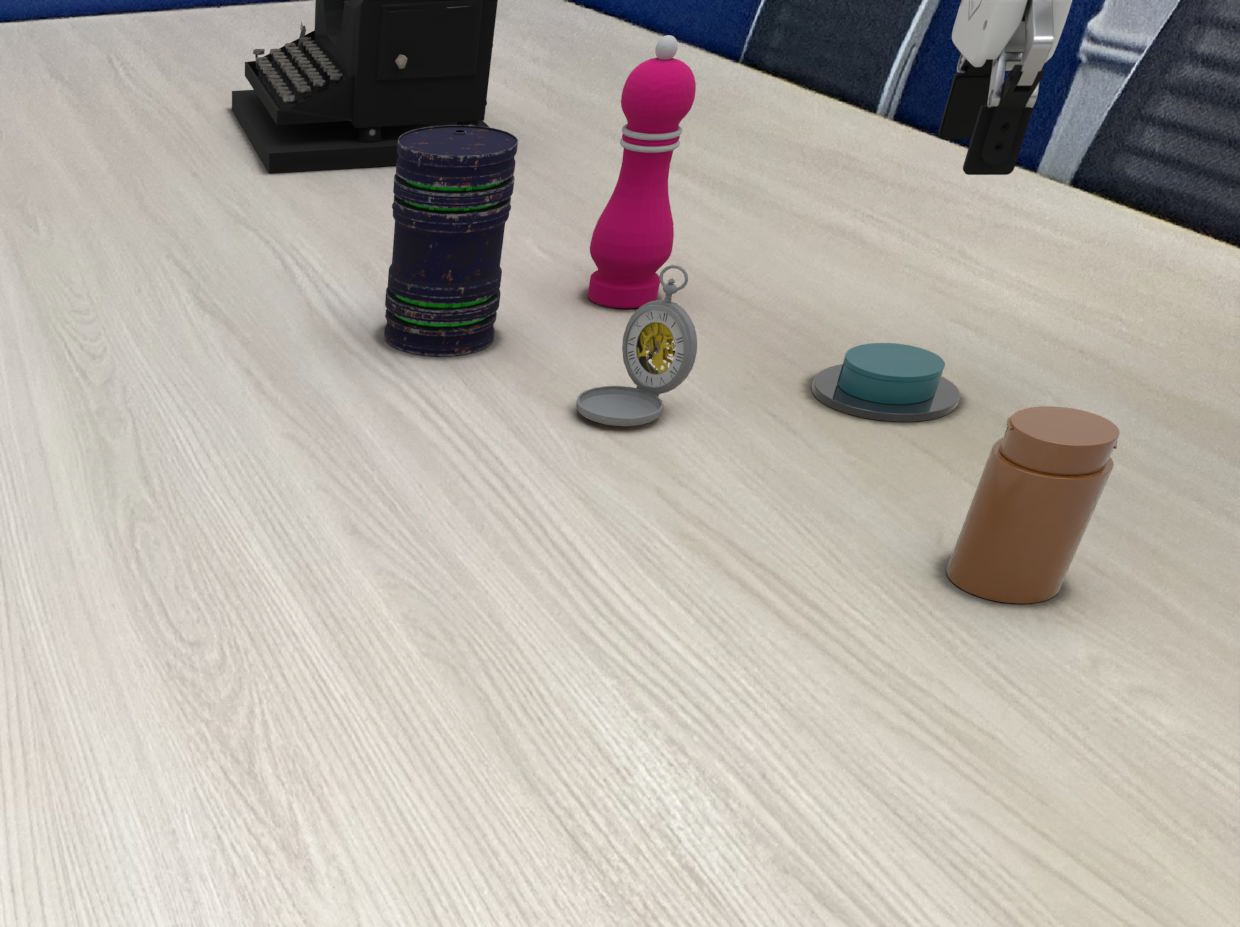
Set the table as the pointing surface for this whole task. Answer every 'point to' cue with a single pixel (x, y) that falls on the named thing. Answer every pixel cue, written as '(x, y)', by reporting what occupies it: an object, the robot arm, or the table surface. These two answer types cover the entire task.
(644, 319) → the pocket watch
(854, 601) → the table surface
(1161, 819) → the table surface
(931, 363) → the jam lid
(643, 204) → the pepper mill
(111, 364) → the table surface
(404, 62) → the typewriter
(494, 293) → the dark blue cylinder
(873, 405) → the coaster
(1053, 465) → the jam jar
